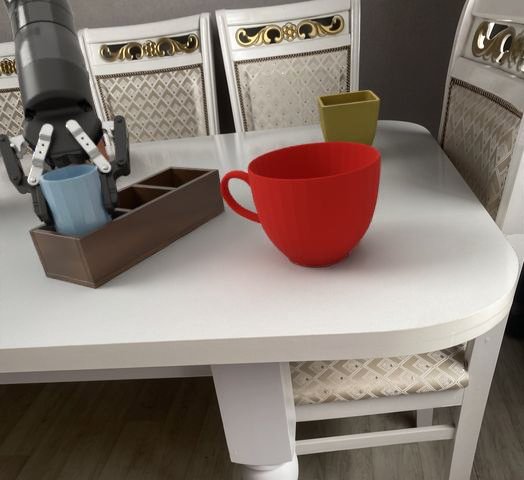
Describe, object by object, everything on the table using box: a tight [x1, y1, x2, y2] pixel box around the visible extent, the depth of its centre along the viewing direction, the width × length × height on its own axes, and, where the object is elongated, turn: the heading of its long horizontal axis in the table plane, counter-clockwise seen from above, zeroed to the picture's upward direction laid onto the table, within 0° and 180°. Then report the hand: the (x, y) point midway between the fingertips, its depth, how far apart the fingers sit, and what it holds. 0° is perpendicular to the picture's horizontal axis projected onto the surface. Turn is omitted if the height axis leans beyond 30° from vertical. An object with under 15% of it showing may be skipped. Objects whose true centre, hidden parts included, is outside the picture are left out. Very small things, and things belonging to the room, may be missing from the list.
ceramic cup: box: [220, 141, 382, 268], centre depth 55 cm, size 13×17×10 cm
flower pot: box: [316, 89, 381, 147], centre depth 84 cm, size 9×9×9 cm
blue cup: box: [38, 164, 113, 236], centre depth 57 cm, size 6×6×9 cm
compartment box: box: [28, 165, 226, 289], centre depth 64 cm, size 8×24×6 cm, turn 147°
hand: (79, 216), depth 56 cm, fingers closed on blue cup, 6 cm apart
